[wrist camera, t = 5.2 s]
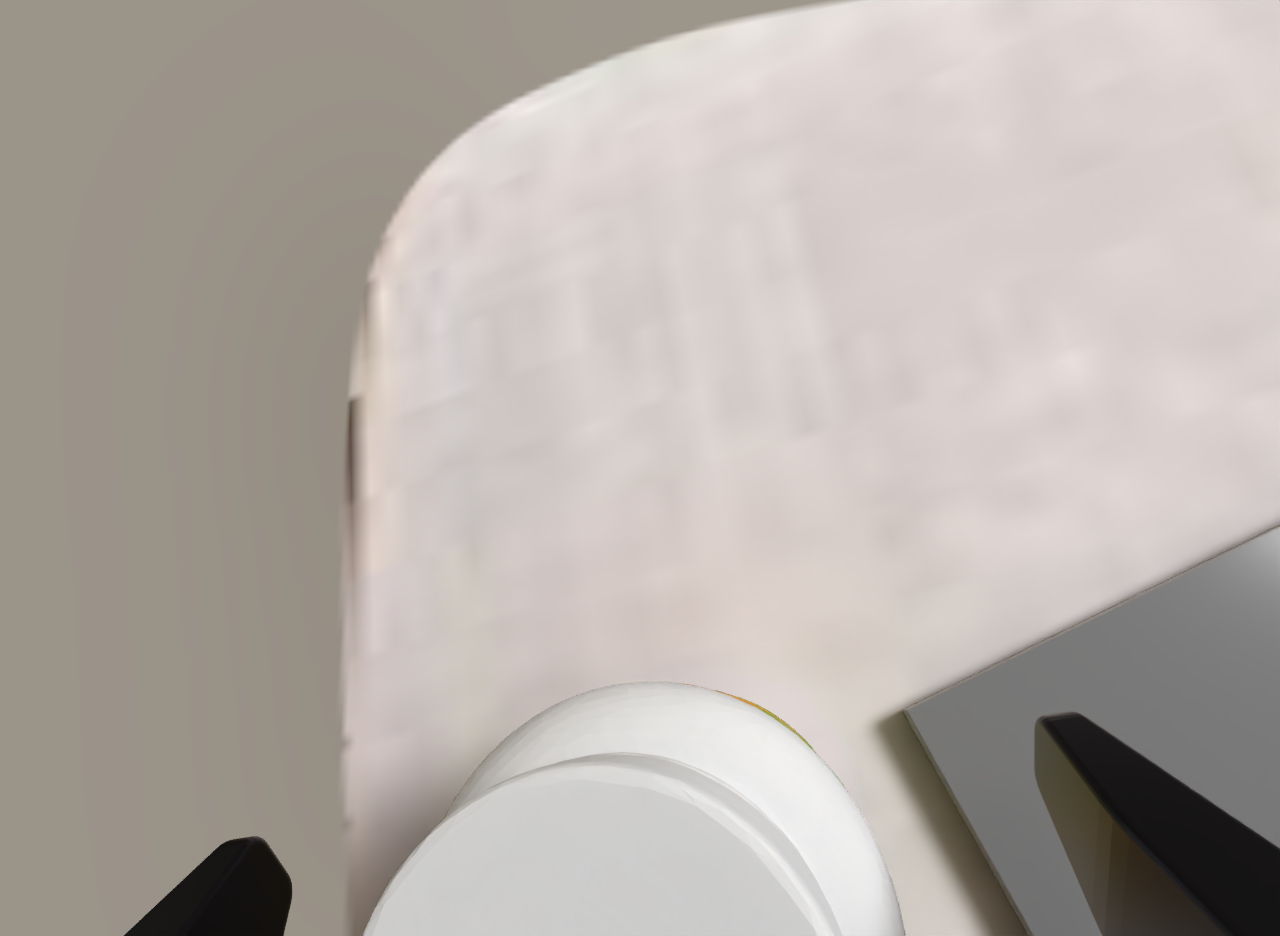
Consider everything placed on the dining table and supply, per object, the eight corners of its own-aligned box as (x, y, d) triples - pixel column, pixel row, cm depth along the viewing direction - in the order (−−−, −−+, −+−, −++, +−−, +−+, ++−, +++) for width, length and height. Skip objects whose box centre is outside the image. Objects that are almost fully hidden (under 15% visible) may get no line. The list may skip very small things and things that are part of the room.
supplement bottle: (899, 787, 14) (1131, 935, 5) (765, 1071, 13) (744, 1901, 4) (654, 642, 16) (489, 552, 7) (519, 885, 15) (102, 1179, 6)
